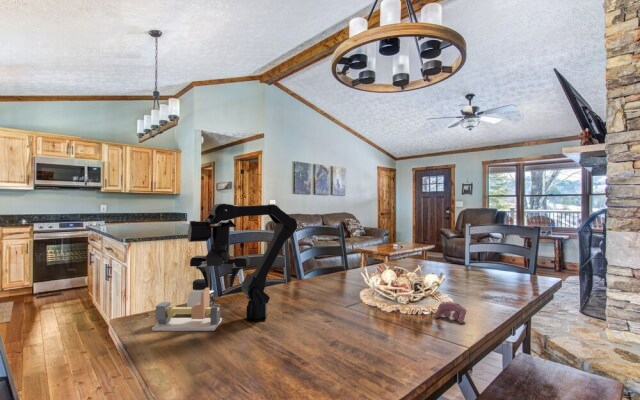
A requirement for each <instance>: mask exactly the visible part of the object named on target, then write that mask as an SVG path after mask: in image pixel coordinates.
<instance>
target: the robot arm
mask: <svg viewBox="0 0 640 400" xmlns="http://www.w3.org/2000/svg"><path fill="white" fill-rule="evenodd" d="M254 216H255V217H256V216H269V218H270V219H271V220H272V222H273V223H274V224H275V226H274V231H273V237H272V239H271V240H270V243H269V245H268V247H267V248H266V250H265V252H264V254H263V256H262V257H261V260H260V261H259V263H258V265H257V266H256V269H255V270H254V271H253V272H252V273H251V274H250V273H246V275H245V278H244V280H243V281H242V282H241V284H242V285H241V291H242V294H244V296H246V298H247V300H248V302H247V305H246V309H245V310H246V311H245V312H246V314H245V315H246V321H247V322H265V321H267V317H268V315H269V313H268V303H269V301H270V298H271V297H270V296H269V295H268V294H267V293H266V292H265V289H266V285H267V277H268V274H269V273H270V271H271V269H272V268H273V265H274V263H275V261H276V260H277V258H278V257H279V254H280V252H281V250H282V248H283V247H284V245H285V243H286V242H287V240H289V239H290V238H291V237H292V236H293V235H294V234H295V232H296V231H297V228H298V221H297V220H296V219H295V218H294V217H291V216H290V215H289V214H287V213H286V212H285V211H284V210H282V209H281V208H280V207H279V205H277V204H274V203H270V204H269V203H268V204H258V205H235V204H230V203H228V204H227V203H216V204H214V205H213V206H212V208H211V210H210V214H208V216H207V217H206V219H204V221H203V220H201V221H200V220H199V221H198V220H197V221H196V220H190V221H189V225H188V228H187V229H188V230H187V241H188V243H191V242H192V243H197V242H208V240H209V239H211V244H210V249H209V251H208V252H207V254H206V255H195V256H193V257H191V258H190V259H189V260H190V261H189V267H195V269H196V270H199V271H200V272H201V274H202V276H203V277H202V278H203V279H205V282H206V285H207V287H209V288H210V282H211V271H210V269H211V267H221V266H222V265H233V266H232V267H231V269H230V270H231V277H230V288H233V286H234V284H235V281H236V280H237V276H238V274H239V272H240V270H242V269H243V268H248V266H249V265H250V263H251V262H250V260H251V259H250V257H249V256H247V255H246V256H245V255H241V256H240V255H238V256H236V257H235V258H230V257H231V255H230V246H231V242H230V238H231V237H230V231H231V230H230V229H231V228H236V227H237V225H236V224H235V223H234V222H233V221H232V220H234V219H236V218H241V217H254Z"/></svg>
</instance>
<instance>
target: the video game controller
mask: <svg viewBox="0 0 640 400" xmlns="http://www.w3.org/2000/svg"><path fill="white" fill-rule="evenodd" d="M451 312H453V313H451ZM442 314H443V316H444V317H445V318H447V319H448V318H450V317H451V315H452V319H454V320H456V321H458V323H459V324H463V323H464V321H465V317H466V314H467V310H466V308H465V307H464V306H463V305H461V304H460V303H457V302H452V301H442V302H441V303H439V305H438V306H437V309H436V311H435V318H436V319H438V318H440V317H441V316H442Z"/></svg>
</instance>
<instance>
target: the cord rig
mask: <svg viewBox="0 0 640 400" xmlns="http://www.w3.org/2000/svg"><path fill="white" fill-rule="evenodd" d="M191 308H192V307H187V306H177V303H172V302H171V301H161V302H160V303H158V304H157V305H156V306H155V320H158V322H157V323H156V324H155V325H154V326H152V328H151V330H152V331H155V332H156V331H158V332H159V331H167V332H169V331H172V332H173V331H175V332H176V331H177V332H178V331H179V332H181V331H182V332H183V331H184V332H186V331H189V332H190V331H193V332H194V331H195V332H199V331H201V332H202V331H204V332H206V331H208V332H209V331H210V332H211V331H213V332H214V331H215V330H217V328H218V327H219V325H221V322H222V321H223V317H221V304H220V303H219V304H216V303H214V305H213V307H206V308H205V314H208V315H210V317H205V318H204V319H191V317H175V316H177V315H191Z"/></svg>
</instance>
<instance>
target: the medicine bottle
mask: <svg viewBox="0 0 640 400" xmlns="http://www.w3.org/2000/svg"><path fill="white" fill-rule="evenodd" d="M206 288H210V286H209V287H207V285H206V282H205V279H204V278H197V279H195V280H193V281H192V292H190V293H188V294H187V300H186V301H187V302H186V303H187V306H186V307H193V306H195V305H196V304H197V303H201V292H202V291H203V290H204V289H206ZM214 293H215V290H210V305H209V307H213V305H214V304H215V294H214Z"/></svg>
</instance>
